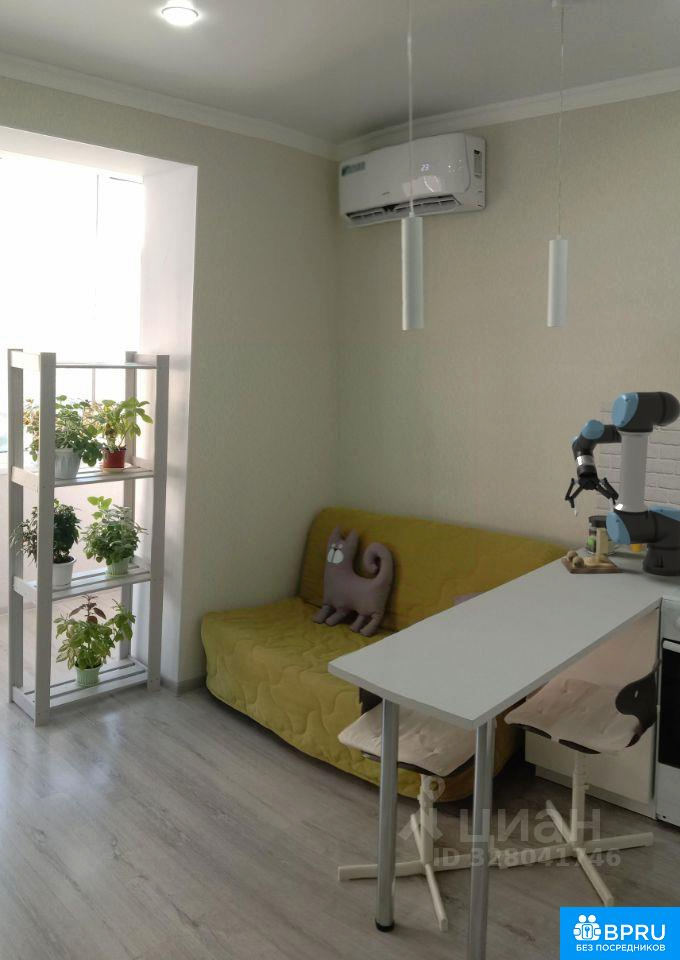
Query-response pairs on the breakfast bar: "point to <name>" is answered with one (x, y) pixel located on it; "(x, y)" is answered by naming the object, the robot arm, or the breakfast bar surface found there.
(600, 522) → the coffee can
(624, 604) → the breakfast bar surface
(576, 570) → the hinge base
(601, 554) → the beige rectangular block
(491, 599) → the breakfast bar surface
